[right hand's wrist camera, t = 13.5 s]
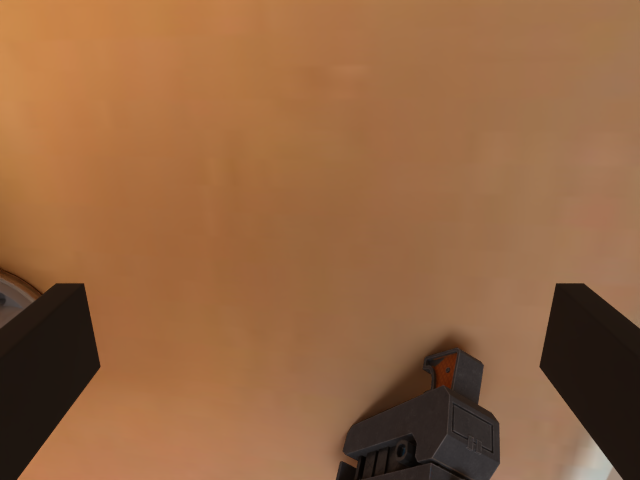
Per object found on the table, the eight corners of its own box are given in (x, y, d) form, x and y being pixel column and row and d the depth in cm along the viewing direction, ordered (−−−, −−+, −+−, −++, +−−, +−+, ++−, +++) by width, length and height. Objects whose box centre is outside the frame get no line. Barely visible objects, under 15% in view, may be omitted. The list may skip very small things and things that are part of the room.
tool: (505, 358, 42) (504, 542, 32) (385, 408, 56) (359, 547, 46) (453, 327, 41) (437, 507, 31) (344, 386, 55) (308, 523, 45)
